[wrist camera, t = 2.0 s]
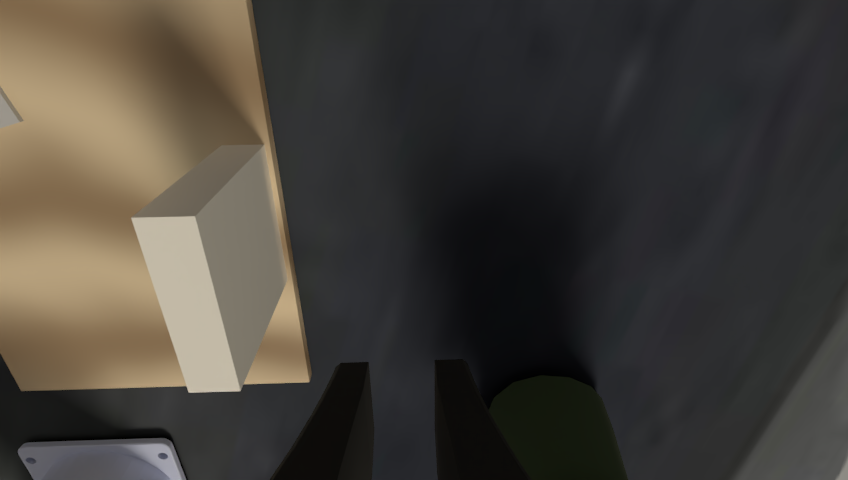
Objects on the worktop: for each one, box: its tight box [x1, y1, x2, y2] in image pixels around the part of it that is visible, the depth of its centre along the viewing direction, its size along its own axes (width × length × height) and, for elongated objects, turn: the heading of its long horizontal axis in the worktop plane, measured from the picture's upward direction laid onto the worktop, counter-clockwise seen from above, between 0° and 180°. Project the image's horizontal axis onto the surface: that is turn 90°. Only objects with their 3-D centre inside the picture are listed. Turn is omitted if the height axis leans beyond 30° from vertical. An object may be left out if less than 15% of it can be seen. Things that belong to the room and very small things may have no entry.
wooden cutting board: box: [0, 0, 312, 391], centre depth 19 cm, size 18×14×1 cm
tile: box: [131, 144, 288, 393], centre depth 16 cm, size 6×2×6 cm, turn 1°
